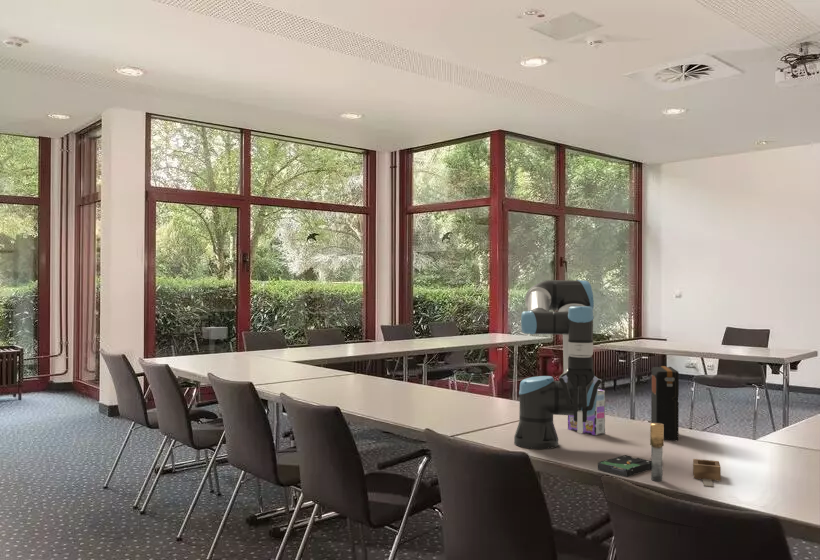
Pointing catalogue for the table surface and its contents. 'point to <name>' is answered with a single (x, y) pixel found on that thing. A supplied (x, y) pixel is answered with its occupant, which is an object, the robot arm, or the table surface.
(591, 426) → the candy box
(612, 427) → the table surface
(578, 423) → the robot arm
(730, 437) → the table surface
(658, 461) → the tan and gray bar
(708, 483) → the joist stripe
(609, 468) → the disk drive
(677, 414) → the black orange case
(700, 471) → the socket
